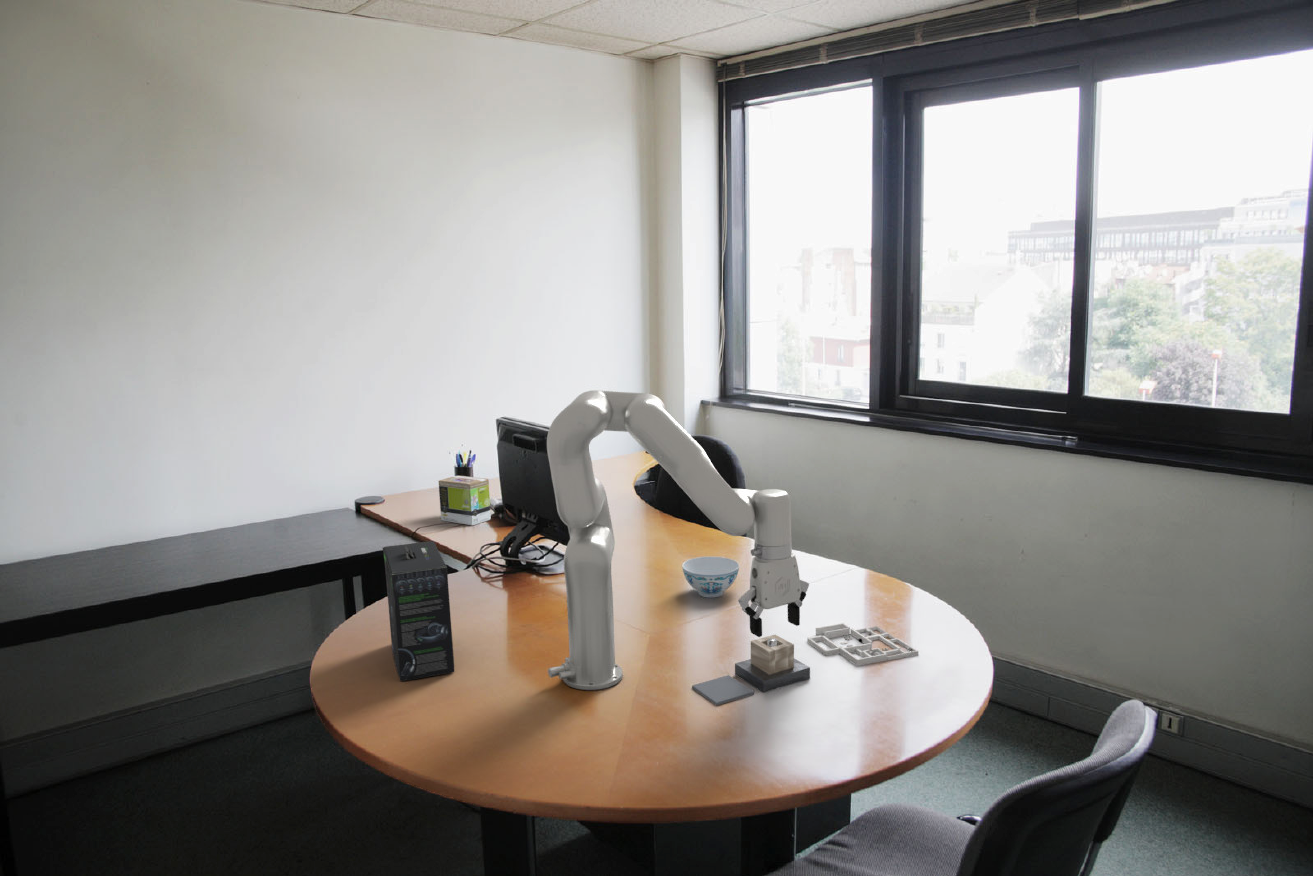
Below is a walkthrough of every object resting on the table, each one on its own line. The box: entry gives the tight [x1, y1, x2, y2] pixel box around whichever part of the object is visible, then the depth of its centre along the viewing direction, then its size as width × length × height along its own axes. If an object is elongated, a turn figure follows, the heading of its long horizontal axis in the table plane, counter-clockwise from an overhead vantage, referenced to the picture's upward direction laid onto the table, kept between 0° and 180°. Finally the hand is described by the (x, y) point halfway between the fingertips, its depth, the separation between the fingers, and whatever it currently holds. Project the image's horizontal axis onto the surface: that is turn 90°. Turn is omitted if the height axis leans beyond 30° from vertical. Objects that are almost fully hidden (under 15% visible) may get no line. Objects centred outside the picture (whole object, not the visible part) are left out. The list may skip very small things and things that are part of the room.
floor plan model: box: [806, 622, 919, 667], centre depth 205 cm, size 19×25×2 cm
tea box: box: [438, 475, 492, 526], centre depth 317 cm, size 15×10×15 cm, turn 58°
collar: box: [750, 634, 795, 675], centre depth 191 cm, size 6×6×5 cm
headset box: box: [382, 540, 455, 682], centre depth 202 cm, size 22×12×26 cm, turn 21°
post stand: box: [734, 638, 811, 694], centre depth 191 cm, size 12×10×8 cm
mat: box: [691, 674, 755, 706], centre depth 185 cm, size 9×9×1 cm
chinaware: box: [681, 555, 740, 598], centre depth 241 cm, size 15×15×8 cm
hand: (775, 629), depth 189 cm, fingers open, 9 cm apart
